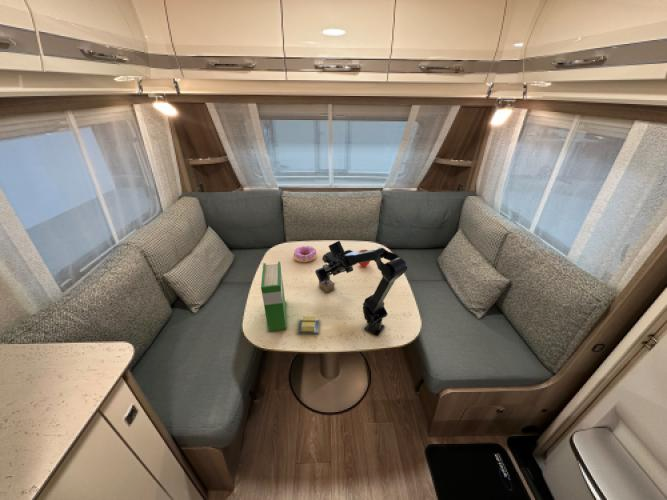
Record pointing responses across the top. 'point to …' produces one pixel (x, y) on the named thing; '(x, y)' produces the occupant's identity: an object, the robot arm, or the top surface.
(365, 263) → the apple
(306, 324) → the butter dish
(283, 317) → the hardback book
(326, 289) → the brown rectangular block
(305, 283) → the top surface
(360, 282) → the top surface
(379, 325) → the robot arm
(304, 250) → the donut
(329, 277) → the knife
